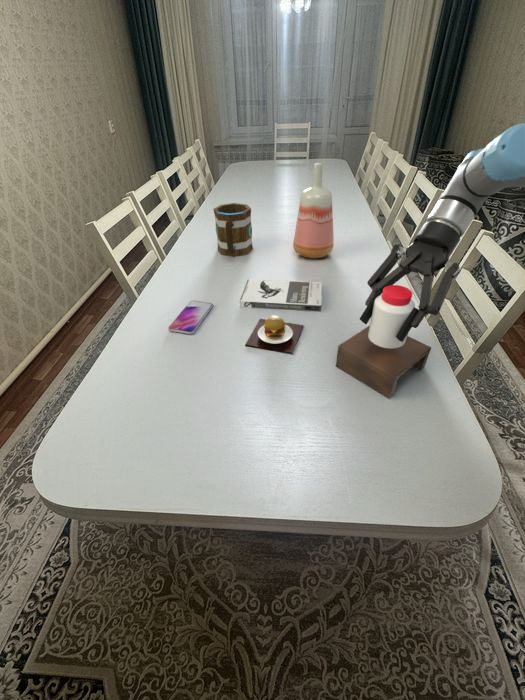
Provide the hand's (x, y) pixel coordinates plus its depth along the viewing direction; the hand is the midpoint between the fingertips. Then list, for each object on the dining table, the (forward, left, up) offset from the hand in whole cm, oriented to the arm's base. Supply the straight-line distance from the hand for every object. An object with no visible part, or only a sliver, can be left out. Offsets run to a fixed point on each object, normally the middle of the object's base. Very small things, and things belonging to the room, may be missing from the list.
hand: (380, 330), depth 72 cm
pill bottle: (0, -3, -4) cm, 5 cm away
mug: (+74, -19, -12) cm, 77 cm away
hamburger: (+25, +6, -12) cm, 28 cm away
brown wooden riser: (0, -3, -12) cm, 12 cm away
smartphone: (+47, +17, -12) cm, 51 cm away
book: (+38, -9, -12) cm, 41 cm away
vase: (+53, -39, -12) cm, 67 cm away
